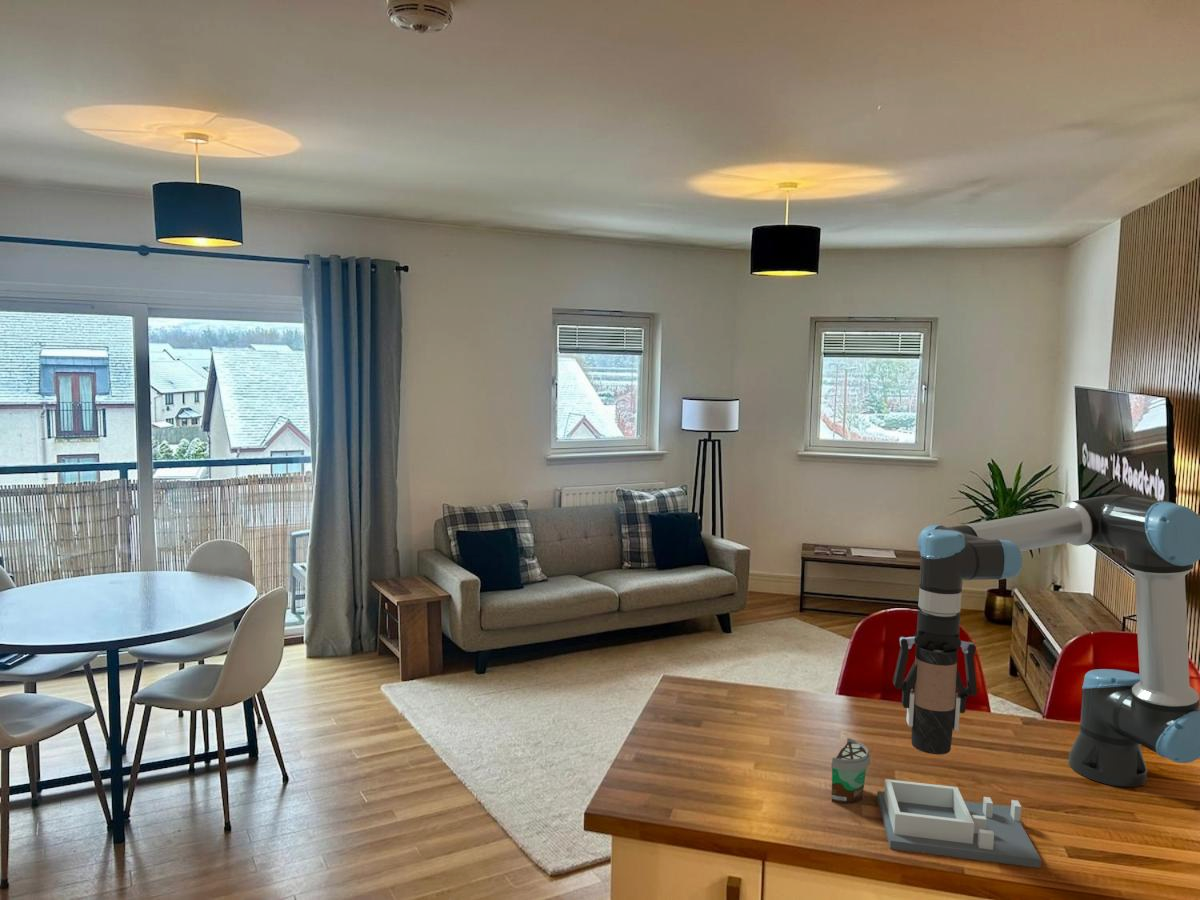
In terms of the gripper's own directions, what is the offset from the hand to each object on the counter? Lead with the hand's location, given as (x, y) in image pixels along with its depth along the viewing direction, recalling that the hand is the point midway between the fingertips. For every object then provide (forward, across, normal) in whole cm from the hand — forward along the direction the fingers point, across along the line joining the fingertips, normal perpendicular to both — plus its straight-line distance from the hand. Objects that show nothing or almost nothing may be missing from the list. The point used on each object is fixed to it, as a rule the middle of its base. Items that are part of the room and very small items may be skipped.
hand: (932, 725), depth 161 cm
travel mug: (+4, 0, 0) cm, 4 cm away
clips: (+19, -13, +1) cm, 23 cm away
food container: (+21, +13, -9) cm, 26 cm away
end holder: (+19, 0, 0) cm, 19 cm away
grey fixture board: (+21, -5, 0) cm, 21 cm away
